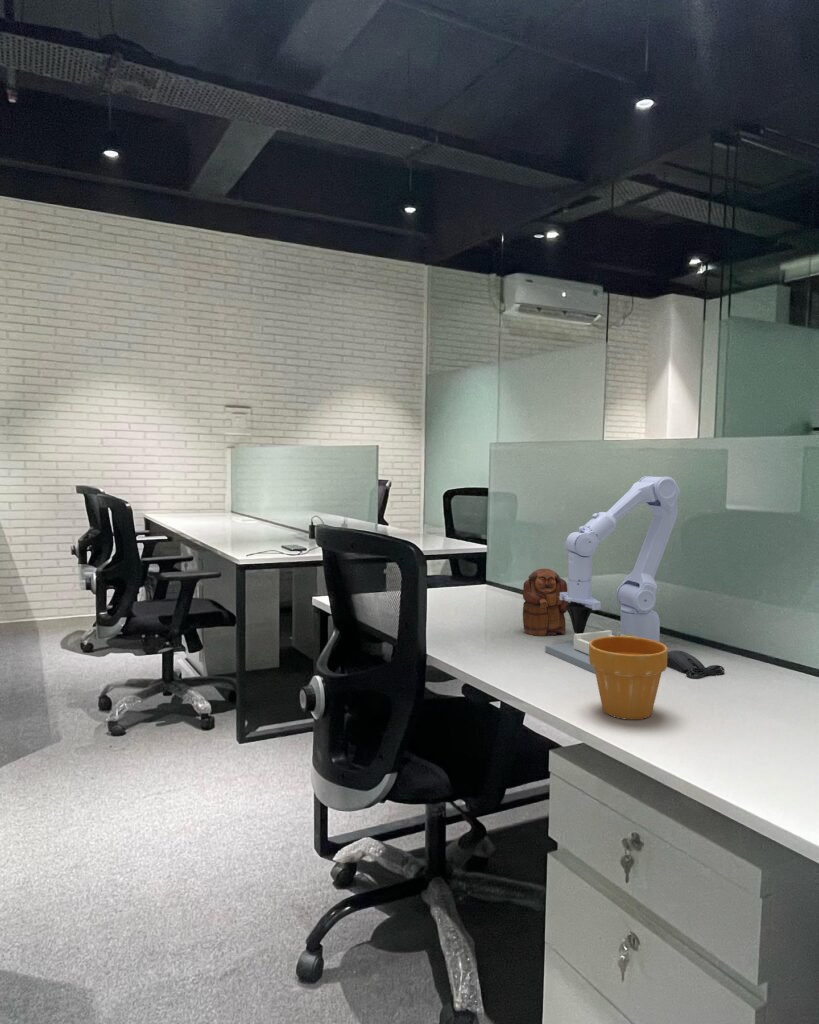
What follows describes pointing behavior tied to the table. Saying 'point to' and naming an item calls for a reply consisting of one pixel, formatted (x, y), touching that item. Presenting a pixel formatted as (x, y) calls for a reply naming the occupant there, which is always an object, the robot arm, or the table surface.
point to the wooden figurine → (544, 603)
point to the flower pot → (627, 674)
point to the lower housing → (588, 639)
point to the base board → (570, 655)
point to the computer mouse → (691, 665)
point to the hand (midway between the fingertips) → (578, 632)
